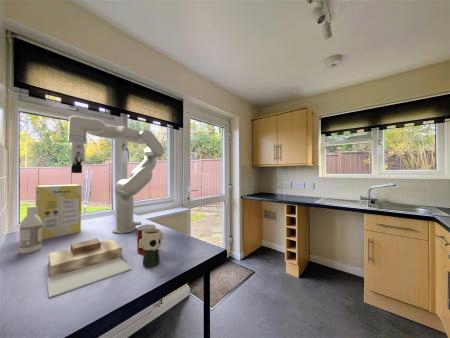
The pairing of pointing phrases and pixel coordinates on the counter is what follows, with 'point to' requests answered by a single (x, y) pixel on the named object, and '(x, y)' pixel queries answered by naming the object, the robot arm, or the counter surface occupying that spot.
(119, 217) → the robot arm
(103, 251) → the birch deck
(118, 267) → the cream mat
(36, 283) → the counter surface
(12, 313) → the counter surface
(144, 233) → the character mug
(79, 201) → the pasta box
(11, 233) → the counter surface
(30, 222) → the bath foam
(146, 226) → the canned food
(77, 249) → the walnut tile
